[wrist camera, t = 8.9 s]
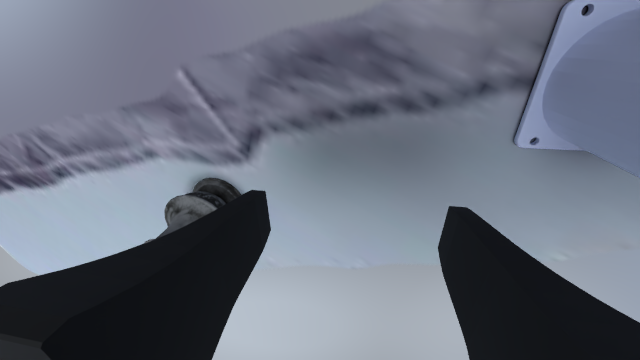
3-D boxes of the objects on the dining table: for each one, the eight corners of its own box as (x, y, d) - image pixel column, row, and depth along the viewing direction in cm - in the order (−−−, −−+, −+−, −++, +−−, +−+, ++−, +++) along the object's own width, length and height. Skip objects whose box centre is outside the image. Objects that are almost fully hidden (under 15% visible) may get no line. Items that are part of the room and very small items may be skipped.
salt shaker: (182, 202, 25) (48, 315, 15) (205, 162, 22) (60, 266, 12) (231, 236, 26) (139, 363, 16) (259, 202, 23) (169, 329, 13)
